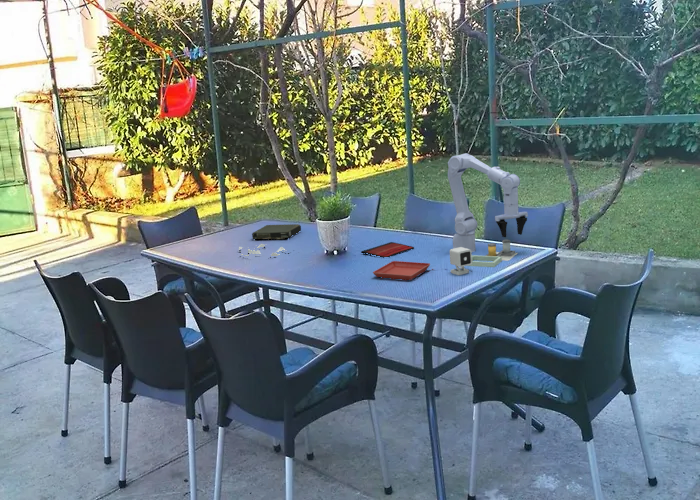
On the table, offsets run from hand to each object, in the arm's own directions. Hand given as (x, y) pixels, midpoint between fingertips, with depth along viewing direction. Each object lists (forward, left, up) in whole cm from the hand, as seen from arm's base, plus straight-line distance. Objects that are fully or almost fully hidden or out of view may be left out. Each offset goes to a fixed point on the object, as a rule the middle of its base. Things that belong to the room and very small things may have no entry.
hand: (512, 235), depth 294 cm
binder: (-60, +1, -11) cm, 61 cm away
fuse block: (-5, -2, -10) cm, 11 cm away
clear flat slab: (-123, -13, -11) cm, 124 cm away
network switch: (-140, +22, -11) cm, 142 cm away
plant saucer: (-36, -34, -11) cm, 50 cm away
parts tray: (-8, -15, -10) cm, 19 cm away
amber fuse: (-7, -6, -9) cm, 12 cm away
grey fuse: (-3, +1, -9) cm, 9 cm away
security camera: (-13, -27, -10) cm, 31 cm away
